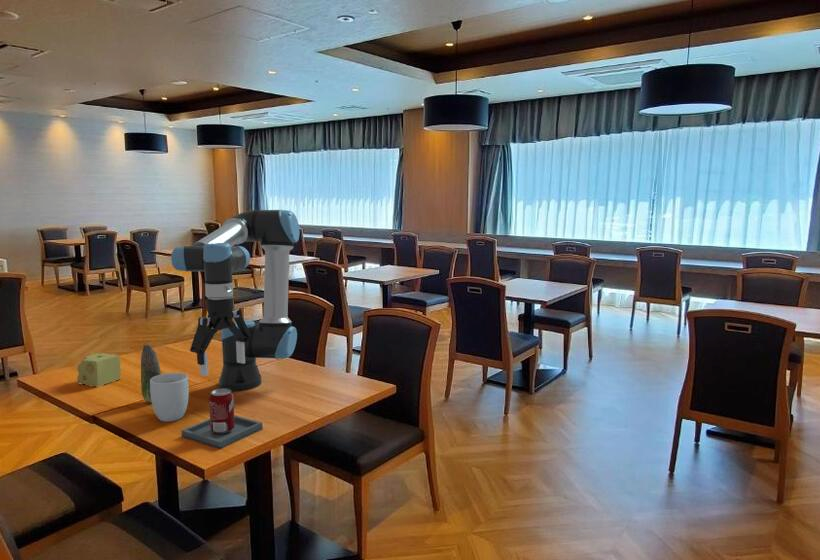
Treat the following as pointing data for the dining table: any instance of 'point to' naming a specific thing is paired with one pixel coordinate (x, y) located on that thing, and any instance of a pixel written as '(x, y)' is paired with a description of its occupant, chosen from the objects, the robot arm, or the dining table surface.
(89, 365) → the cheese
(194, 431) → the tray
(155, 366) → the vegetable
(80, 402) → the dining table surface
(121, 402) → the dining table surface
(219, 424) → the soda can
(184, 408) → the mug
